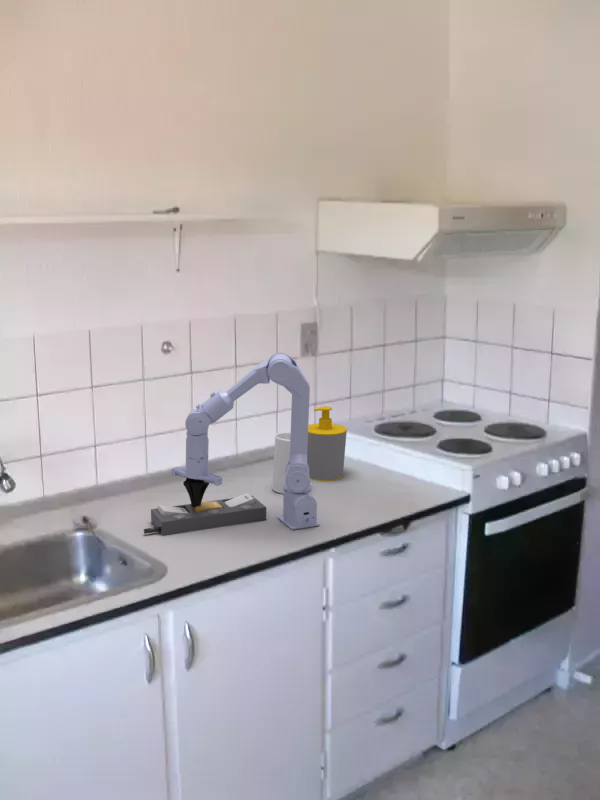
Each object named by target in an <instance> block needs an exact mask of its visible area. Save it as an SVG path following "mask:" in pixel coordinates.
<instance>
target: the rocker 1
mask: <svg viewBox="0 0 600 800" xmlns="http://www.w3.org/2000/svg"><path fill="white" fill-rule="evenodd" d="M157 508H158V512H159V513H160V514H161V515H162V516H170V515H176V514H184V513H189V512H188V511H187V510H186V509H185V508H181V507H172V505H171V506H170V505H159V504H158V506H157Z"/></svg>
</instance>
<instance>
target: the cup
mask: <svg viewBox="0 0 600 800" xmlns="http://www.w3.org/2000/svg"><path fill="white" fill-rule="evenodd" d="M290 436H291V431H282V432H277V433H276V434H275V435H274V451H273V452H274V453H273V470H272V471H273V472H272V485H271V486H272V487H271V488H272V490H273V491H274V492H275V493H278V494H283V495H284V485H285V484H286V482H285V480H286V472H285V469H286V466H287V464H288V462H289V459H290Z"/></svg>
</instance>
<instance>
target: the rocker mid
mask: <svg viewBox="0 0 600 800" xmlns="http://www.w3.org/2000/svg"><path fill="white" fill-rule="evenodd" d="M213 501H214V502H208V501H202V502H201V505H200V506H197V507H195V508H194V507H192V505H191V507H192V508H193V509H194V510H195V511H196V512H198V511H205V510H211V509H219V508H223V507H222V506H221V505H220V504H219V503H218V502H217V501H215V500H213Z"/></svg>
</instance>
